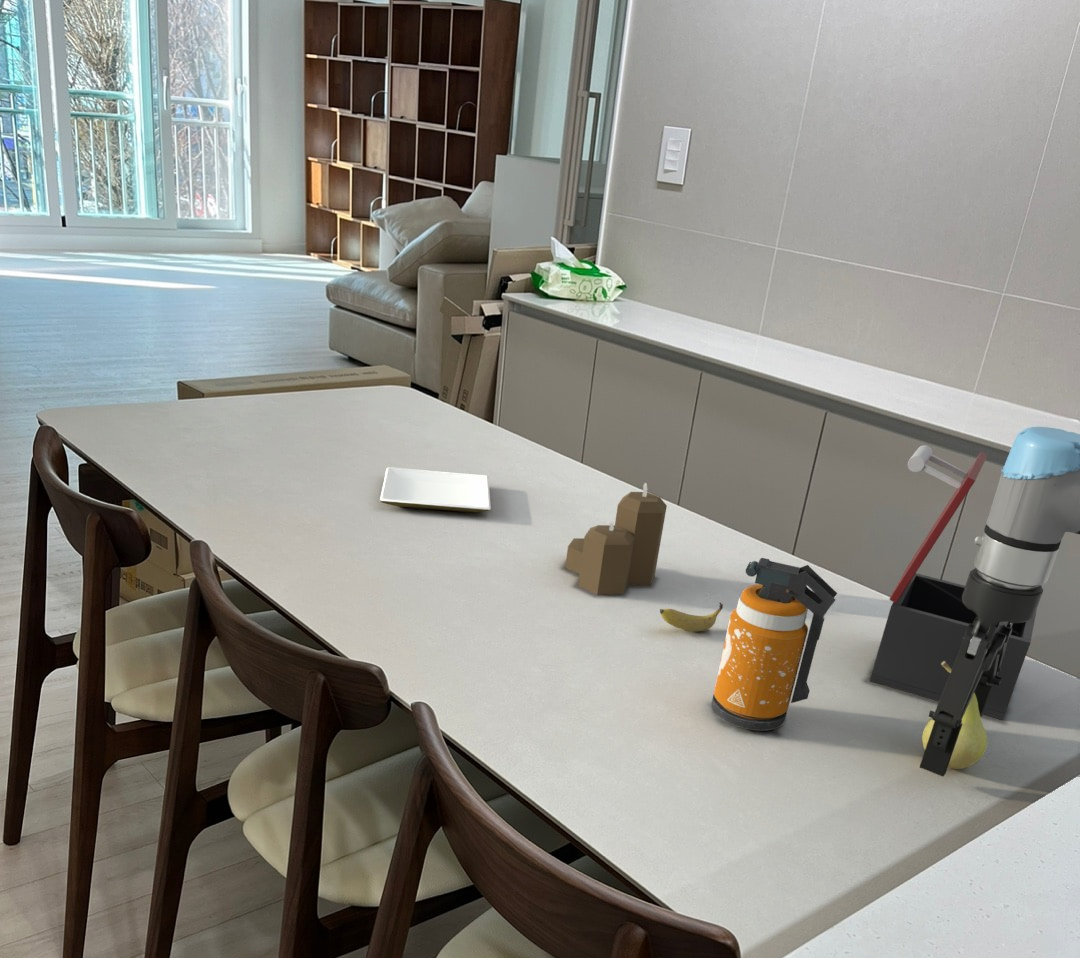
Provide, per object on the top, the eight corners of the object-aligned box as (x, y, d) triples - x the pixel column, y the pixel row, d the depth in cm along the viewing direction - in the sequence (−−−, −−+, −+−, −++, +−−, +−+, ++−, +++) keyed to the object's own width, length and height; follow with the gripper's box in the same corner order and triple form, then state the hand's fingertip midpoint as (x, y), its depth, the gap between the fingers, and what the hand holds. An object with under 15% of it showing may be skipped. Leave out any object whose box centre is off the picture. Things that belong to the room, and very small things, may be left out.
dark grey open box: (1011, 676, 147) (1038, 604, 142) (1002, 720, 135) (1030, 642, 130) (889, 642, 153) (909, 571, 148) (869, 681, 141) (891, 605, 136)
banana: (660, 638, 146) (665, 611, 144) (652, 630, 147) (657, 604, 146) (722, 632, 150) (728, 606, 148) (713, 625, 151) (718, 599, 150)
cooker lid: (987, 455, 138) (932, 426, 139) (975, 480, 125) (914, 449, 127) (914, 569, 147) (862, 541, 149) (895, 603, 135) (840, 572, 137)
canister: (717, 691, 133) (750, 542, 124) (805, 714, 131) (845, 563, 121) (703, 723, 126) (736, 566, 116) (796, 747, 123) (838, 589, 114)
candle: (639, 559, 171) (654, 469, 164) (670, 594, 160) (687, 499, 153) (559, 559, 168) (570, 467, 160) (584, 594, 156) (598, 497, 149)
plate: (487, 485, 197) (488, 475, 196) (489, 520, 180) (490, 508, 179) (386, 477, 195) (386, 466, 194) (379, 510, 178) (379, 499, 177)
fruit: (966, 787, 119) (1000, 694, 114) (902, 761, 123) (932, 669, 117) (984, 765, 124) (1017, 675, 118) (922, 740, 128) (951, 652, 122)
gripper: (1000, 541, 123) (946, 703, 133) (939, 595, 105) (882, 777, 115) (1067, 560, 120) (1006, 725, 130) (1016, 619, 102) (950, 805, 112)
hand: (948, 750), depth 123 cm, fingers open, 12 cm apart
